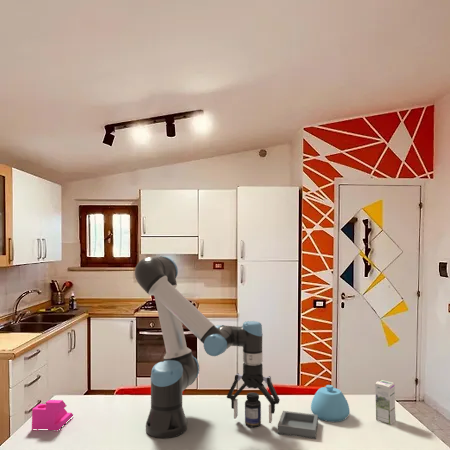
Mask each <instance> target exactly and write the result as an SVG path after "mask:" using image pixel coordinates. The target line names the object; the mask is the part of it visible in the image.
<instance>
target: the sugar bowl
mask: <svg viewBox="0 0 450 450" xmlns="http://www.w3.org/2000/svg"><path fill="white" fill-rule="evenodd" d="M310 411H311V413H313V414H315V415H318V420H322V421H325V422H330V423H331V422H332V423H333V422H334V423H336V422H337V423H338V422H342V421H344V420H346V419H347V418H348V417H349V415H350V412H351V411H350V405H349V403H348V400H347V398H346V397H345V395H344V393H343V392H342V391H341V389H339V388H336V387H334V385H332V384H326V385H325V386H324V387H320V388H318V389H317V391H316V392H315V393H314V395H313V397H312V399H311V405H310Z"/></svg>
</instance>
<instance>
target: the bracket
mask: <svg viewBox="0 0 450 450" xmlns="http://www.w3.org/2000/svg"><path fill="white" fill-rule="evenodd" d="M66 407H67V404H66V403H65V402H64V400H62V399H49V400H47V401H46V402H45V403H38V404H37V405H36V406H35V407H33V408H32V410H31V430H32V429H48V430H59V429H60V428H61V427H62V426H63V425H64V424H65V423H66V422H67V421H68V420H69V419H70V418H71V417H72V416H73V415H74V414H73V412H68V411H67V410H66V409H65V408H66ZM61 429H62V428H61ZM61 429H60V430H61ZM60 430H59V431H60Z"/></svg>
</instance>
